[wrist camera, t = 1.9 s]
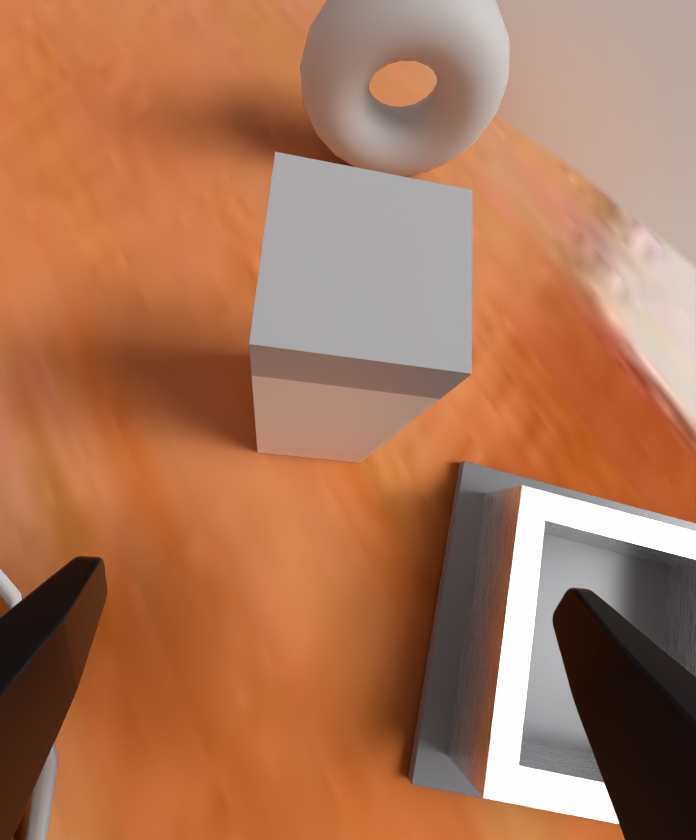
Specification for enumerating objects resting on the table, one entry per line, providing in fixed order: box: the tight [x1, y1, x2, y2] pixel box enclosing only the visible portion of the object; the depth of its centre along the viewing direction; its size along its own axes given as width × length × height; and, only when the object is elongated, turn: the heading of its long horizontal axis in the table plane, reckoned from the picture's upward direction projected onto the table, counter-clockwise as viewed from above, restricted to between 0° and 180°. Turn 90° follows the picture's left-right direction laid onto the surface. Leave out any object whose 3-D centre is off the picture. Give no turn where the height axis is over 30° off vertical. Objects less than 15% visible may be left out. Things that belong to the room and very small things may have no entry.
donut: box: [300, 0, 510, 176], centre depth 23 cm, size 10×4×10 cm, turn 89°
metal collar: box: [447, 485, 696, 824], centre depth 20 cm, size 11×11×4 cm
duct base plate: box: [408, 461, 696, 824], centre depth 22 cm, size 14×14×1 cm
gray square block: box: [249, 152, 472, 463], centre depth 17 cm, size 5×5×13 cm
